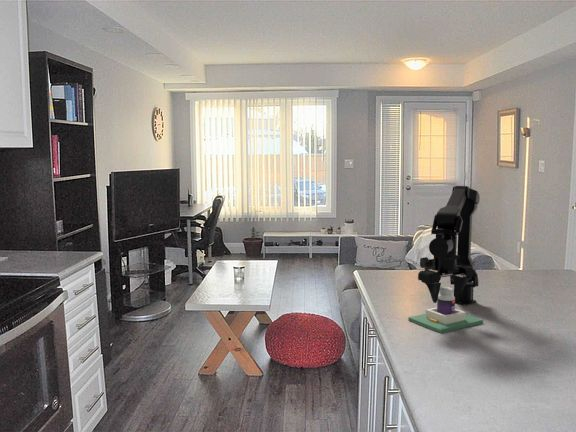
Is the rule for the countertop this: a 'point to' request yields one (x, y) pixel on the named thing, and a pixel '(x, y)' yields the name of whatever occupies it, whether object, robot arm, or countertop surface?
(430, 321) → the board
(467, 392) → the countertop surface
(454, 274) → the robot arm
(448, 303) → the pill bottle
